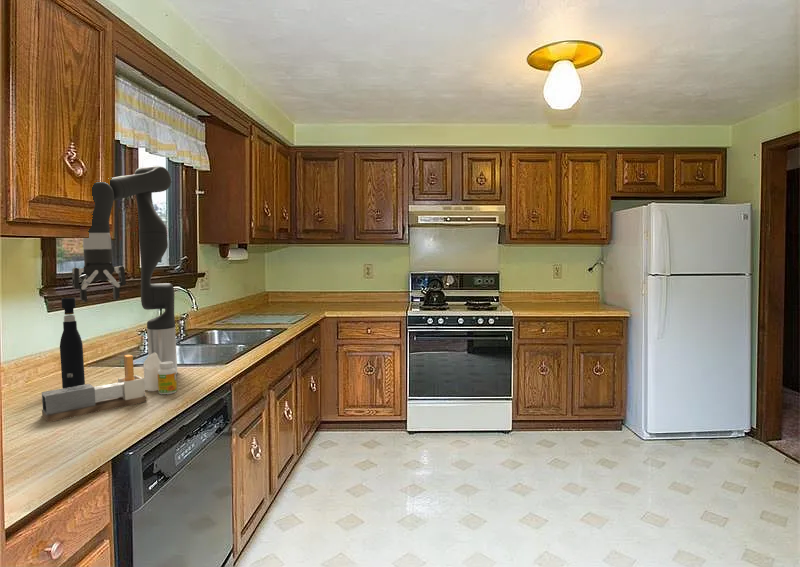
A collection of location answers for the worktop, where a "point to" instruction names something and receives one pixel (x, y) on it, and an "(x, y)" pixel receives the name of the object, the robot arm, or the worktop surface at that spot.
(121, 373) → the worktop surface
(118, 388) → the slide bolt
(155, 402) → the worktop surface
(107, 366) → the worktop surface
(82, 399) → the grey rectangular box
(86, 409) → the board
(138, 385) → the socket
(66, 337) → the black bottle
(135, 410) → the worktop surface
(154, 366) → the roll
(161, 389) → the supplement bottle
